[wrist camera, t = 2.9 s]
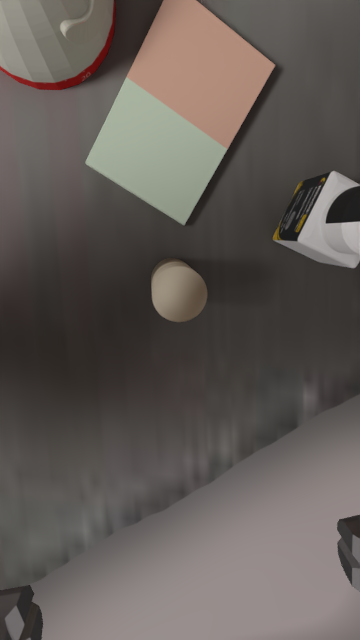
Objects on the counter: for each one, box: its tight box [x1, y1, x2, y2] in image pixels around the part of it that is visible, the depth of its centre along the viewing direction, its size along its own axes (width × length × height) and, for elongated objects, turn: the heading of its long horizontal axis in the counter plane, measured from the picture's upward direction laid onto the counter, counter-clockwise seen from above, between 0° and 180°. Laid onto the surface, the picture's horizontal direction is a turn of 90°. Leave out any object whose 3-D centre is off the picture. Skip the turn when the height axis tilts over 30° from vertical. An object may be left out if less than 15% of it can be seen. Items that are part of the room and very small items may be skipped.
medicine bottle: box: [273, 171, 360, 268], centre depth 32 cm, size 7×7×12 cm
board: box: [85, 0, 275, 225], centre depth 32 cm, size 12×18×1 cm, turn 149°
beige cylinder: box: [151, 258, 207, 322], centre depth 33 cm, size 5×5×10 cm
